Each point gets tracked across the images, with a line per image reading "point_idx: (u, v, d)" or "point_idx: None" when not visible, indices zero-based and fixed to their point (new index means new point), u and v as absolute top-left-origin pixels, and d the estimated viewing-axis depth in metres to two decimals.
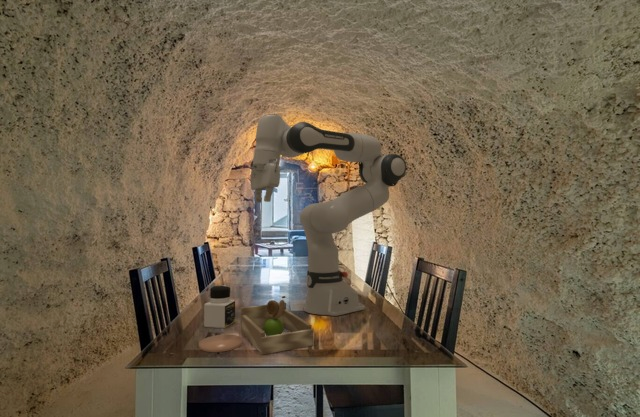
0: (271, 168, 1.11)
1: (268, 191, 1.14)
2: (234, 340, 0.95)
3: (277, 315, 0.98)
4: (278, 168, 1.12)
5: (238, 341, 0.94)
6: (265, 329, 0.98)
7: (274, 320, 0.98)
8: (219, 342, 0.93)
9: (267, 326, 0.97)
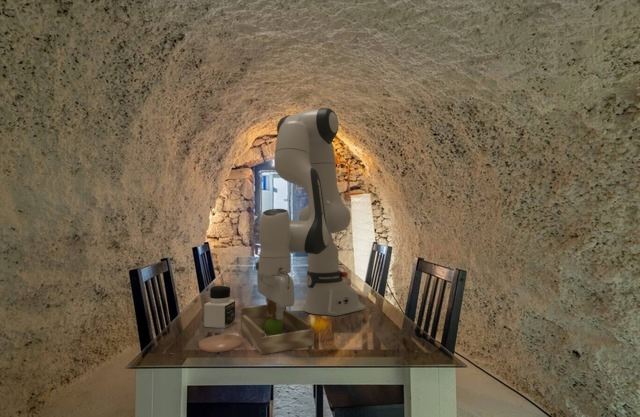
0: (283, 286, 0.91)
1: (279, 308, 0.95)
2: (234, 340, 0.95)
3: None
4: (291, 283, 0.92)
5: (238, 341, 0.94)
6: (265, 329, 0.98)
7: (274, 320, 0.98)
8: (219, 342, 0.93)
9: (267, 326, 0.97)
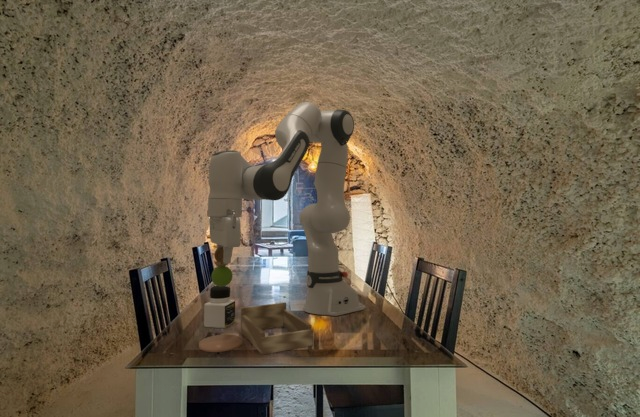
0: (228, 225, 0.86)
1: (226, 251, 0.91)
2: (234, 340, 0.95)
3: None
4: (237, 223, 0.87)
5: (238, 341, 0.94)
6: (212, 276, 0.92)
7: (222, 267, 0.93)
8: (219, 342, 0.93)
9: (214, 272, 0.92)
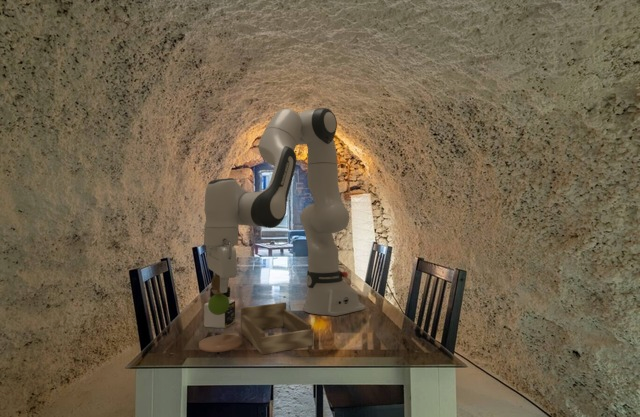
0: (224, 255, 0.86)
1: (222, 281, 0.90)
2: (234, 340, 0.95)
3: None
4: (233, 253, 0.87)
5: (238, 341, 0.94)
6: (209, 305, 0.92)
7: (219, 295, 0.93)
8: (219, 342, 0.93)
9: (211, 301, 0.92)
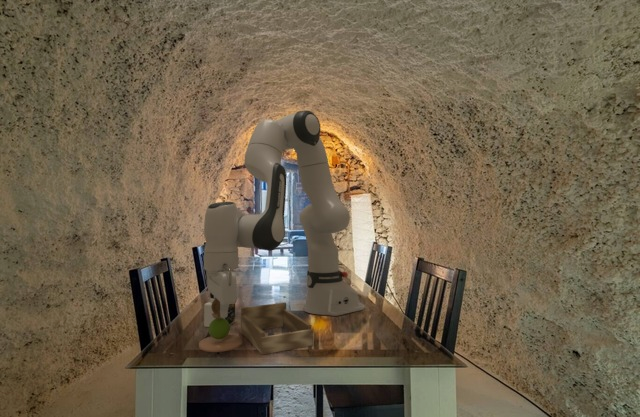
0: (224, 282, 0.86)
1: (223, 306, 0.90)
2: (234, 340, 0.95)
3: None
4: (233, 279, 0.87)
5: (238, 341, 0.94)
6: (210, 330, 0.92)
7: (219, 319, 0.93)
8: (219, 342, 0.93)
9: (211, 326, 0.92)
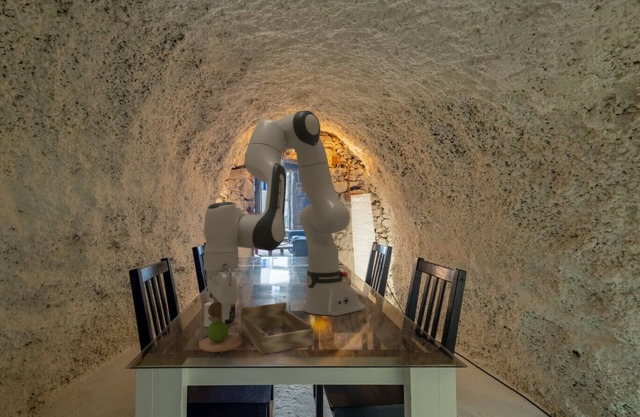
0: (224, 282, 0.86)
1: (224, 308, 0.89)
2: (234, 340, 0.95)
3: None
4: (233, 280, 0.87)
5: (238, 341, 0.94)
6: (212, 334, 0.91)
7: (220, 323, 0.93)
8: (219, 342, 0.93)
9: (215, 330, 0.91)
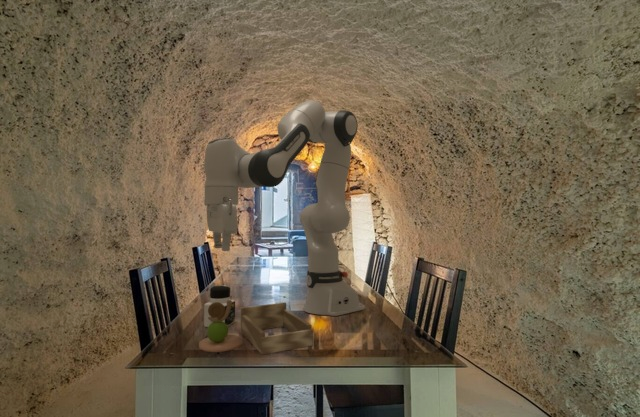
0: (225, 211, 0.87)
1: (225, 239, 0.90)
2: (234, 340, 0.95)
3: (224, 317, 0.94)
4: (234, 209, 0.88)
5: (238, 341, 0.94)
6: (212, 334, 0.91)
7: (220, 323, 0.93)
8: (219, 342, 0.93)
9: (215, 330, 0.91)
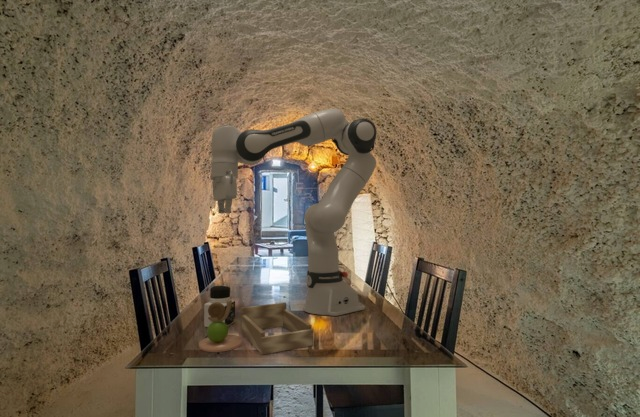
0: (227, 181, 1.12)
1: (227, 203, 1.15)
2: (234, 340, 0.95)
3: (224, 317, 0.94)
4: (234, 180, 1.13)
5: (238, 341, 0.94)
6: (212, 334, 0.91)
7: (220, 323, 0.93)
8: (219, 342, 0.93)
9: (215, 330, 0.91)
